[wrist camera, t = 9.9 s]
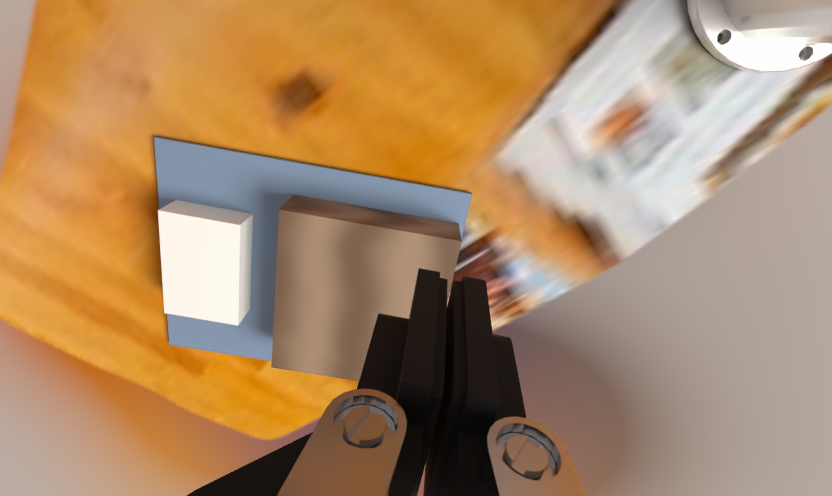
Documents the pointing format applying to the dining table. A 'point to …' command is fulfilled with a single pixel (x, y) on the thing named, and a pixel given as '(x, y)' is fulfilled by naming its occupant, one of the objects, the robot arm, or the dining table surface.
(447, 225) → the block
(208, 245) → the tile
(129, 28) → the dining table surface
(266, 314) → the placemat
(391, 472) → the robot arm
